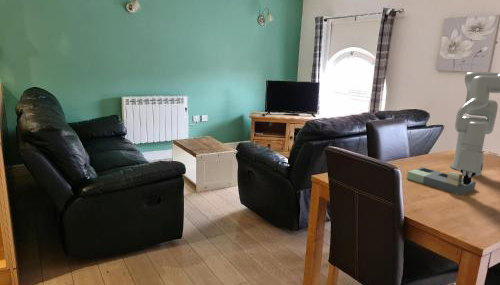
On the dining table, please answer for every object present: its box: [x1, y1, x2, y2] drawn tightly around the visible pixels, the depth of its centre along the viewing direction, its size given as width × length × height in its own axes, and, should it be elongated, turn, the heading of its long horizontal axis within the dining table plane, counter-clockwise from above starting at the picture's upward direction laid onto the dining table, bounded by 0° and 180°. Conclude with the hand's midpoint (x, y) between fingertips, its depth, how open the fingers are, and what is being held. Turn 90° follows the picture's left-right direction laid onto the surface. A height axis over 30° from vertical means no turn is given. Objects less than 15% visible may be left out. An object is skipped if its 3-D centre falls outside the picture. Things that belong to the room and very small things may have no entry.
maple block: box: [446, 171, 464, 186], centre depth 178 cm, size 5×5×5 cm
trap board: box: [406, 166, 477, 196], centre depth 189 cm, size 15×28×4 cm, turn 37°
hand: (466, 184), depth 175 cm, fingers closed
